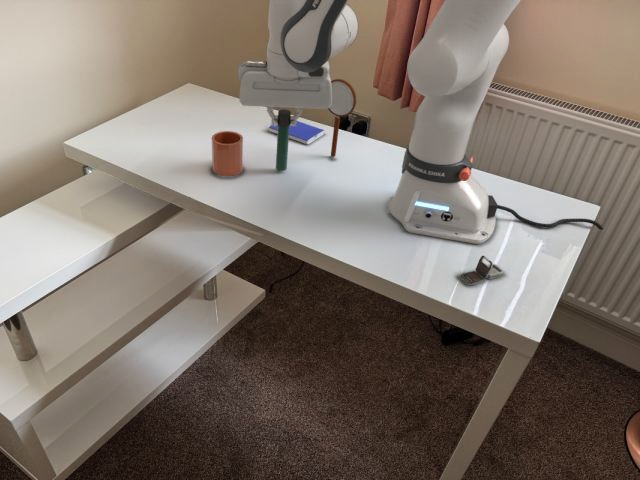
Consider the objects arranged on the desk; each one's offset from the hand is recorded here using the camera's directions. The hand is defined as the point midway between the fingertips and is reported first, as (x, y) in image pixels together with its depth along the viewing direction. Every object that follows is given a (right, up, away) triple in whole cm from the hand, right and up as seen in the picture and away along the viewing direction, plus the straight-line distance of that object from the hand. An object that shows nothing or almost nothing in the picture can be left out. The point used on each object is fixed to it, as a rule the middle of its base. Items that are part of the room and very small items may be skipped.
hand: (283, 124), depth 130 cm
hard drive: (+5, +5, +25) cm, 26 cm away
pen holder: (-13, -9, +9) cm, 18 cm away
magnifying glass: (+13, -5, +14) cm, 20 cm away
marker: (0, -8, +7) cm, 11 cm away
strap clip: (+37, -35, -20) cm, 54 cm away
